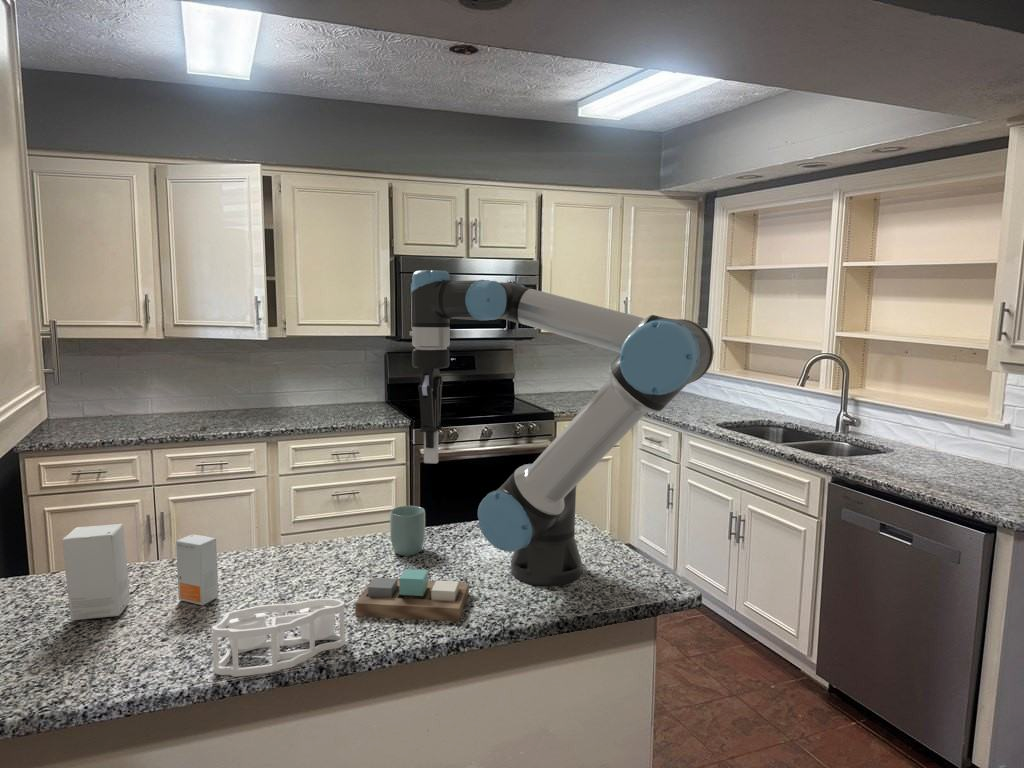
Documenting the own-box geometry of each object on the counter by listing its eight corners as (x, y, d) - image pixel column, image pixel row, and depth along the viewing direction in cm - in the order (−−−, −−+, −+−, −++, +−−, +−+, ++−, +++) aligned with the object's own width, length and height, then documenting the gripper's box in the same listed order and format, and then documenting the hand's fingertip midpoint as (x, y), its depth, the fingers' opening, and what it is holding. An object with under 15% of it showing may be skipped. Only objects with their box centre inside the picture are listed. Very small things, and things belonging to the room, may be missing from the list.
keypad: (468, 595, 132) (468, 583, 131) (459, 621, 121) (459, 608, 120) (373, 590, 133) (373, 578, 133) (355, 616, 122) (355, 603, 122)
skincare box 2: (177, 601, 128) (174, 540, 126) (195, 592, 132) (192, 533, 130) (202, 606, 126) (199, 545, 124) (219, 597, 130) (217, 537, 128)
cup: (418, 560, 149) (418, 517, 148) (385, 557, 150) (384, 514, 149) (429, 548, 156) (429, 506, 155) (398, 545, 158) (397, 504, 157)
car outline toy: (343, 629, 118) (343, 589, 117) (347, 662, 107) (346, 618, 106) (220, 645, 112) (218, 603, 111) (211, 681, 101) (209, 635, 100)
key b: (427, 586, 129) (427, 570, 128) (422, 595, 124) (422, 579, 124) (405, 584, 129) (405, 568, 129) (399, 594, 125) (399, 578, 124)
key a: (458, 597, 128) (458, 581, 128) (454, 607, 124) (454, 591, 124) (436, 596, 129) (436, 580, 128) (431, 606, 124) (431, 590, 124)
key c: (397, 594, 129) (397, 578, 129) (391, 604, 125) (391, 588, 125) (375, 593, 130) (374, 577, 129) (368, 603, 125) (368, 587, 125)
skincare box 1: (131, 602, 127) (126, 522, 125) (118, 618, 121) (113, 534, 119) (82, 605, 125) (76, 525, 123) (66, 622, 119) (60, 537, 117)
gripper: (419, 345, 142) (420, 454, 145) (404, 349, 129) (405, 469, 132) (454, 346, 141) (454, 455, 144) (443, 350, 128) (443, 470, 131)
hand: (431, 462), depth 138 cm, fingers closed
